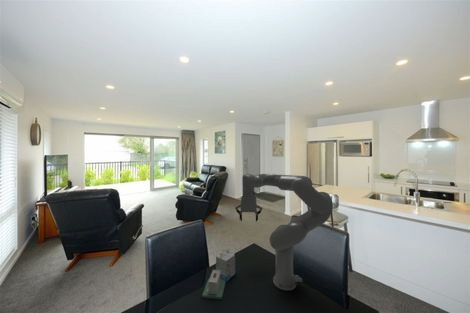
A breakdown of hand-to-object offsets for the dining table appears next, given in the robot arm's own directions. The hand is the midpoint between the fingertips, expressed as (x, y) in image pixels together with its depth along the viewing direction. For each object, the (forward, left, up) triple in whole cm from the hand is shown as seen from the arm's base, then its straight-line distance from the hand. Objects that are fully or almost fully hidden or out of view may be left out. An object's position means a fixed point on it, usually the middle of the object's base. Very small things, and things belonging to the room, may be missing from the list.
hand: (248, 220), depth 108 cm
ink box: (+14, +7, -31) cm, 34 cm away
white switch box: (+18, +19, -29) cm, 39 cm away
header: (+18, +19, -30) cm, 40 cm away
